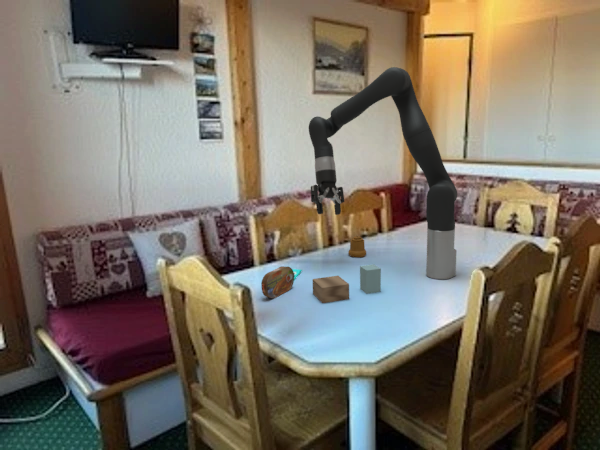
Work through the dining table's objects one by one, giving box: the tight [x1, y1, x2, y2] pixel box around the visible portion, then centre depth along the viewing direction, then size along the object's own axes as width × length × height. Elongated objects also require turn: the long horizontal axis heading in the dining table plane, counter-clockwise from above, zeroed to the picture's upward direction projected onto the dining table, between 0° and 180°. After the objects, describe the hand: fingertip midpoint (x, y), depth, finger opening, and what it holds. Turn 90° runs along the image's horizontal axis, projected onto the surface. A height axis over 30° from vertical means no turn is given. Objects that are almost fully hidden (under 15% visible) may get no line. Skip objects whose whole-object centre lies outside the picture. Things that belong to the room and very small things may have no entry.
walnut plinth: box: [312, 275, 350, 304], centre depth 152 cm, size 9×9×5 cm
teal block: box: [359, 263, 382, 295], centre depth 155 cm, size 5×5×8 cm
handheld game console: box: [291, 268, 303, 281], centre depth 172 cm, size 10×16×1 cm, turn 165°
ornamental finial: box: [347, 235, 367, 258], centre depth 196 cm, size 8×8×8 cm
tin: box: [261, 265, 295, 299], centre depth 155 cm, size 15×3×8 cm, turn 146°
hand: (329, 214), depth 173 cm, fingers open, 8 cm apart
